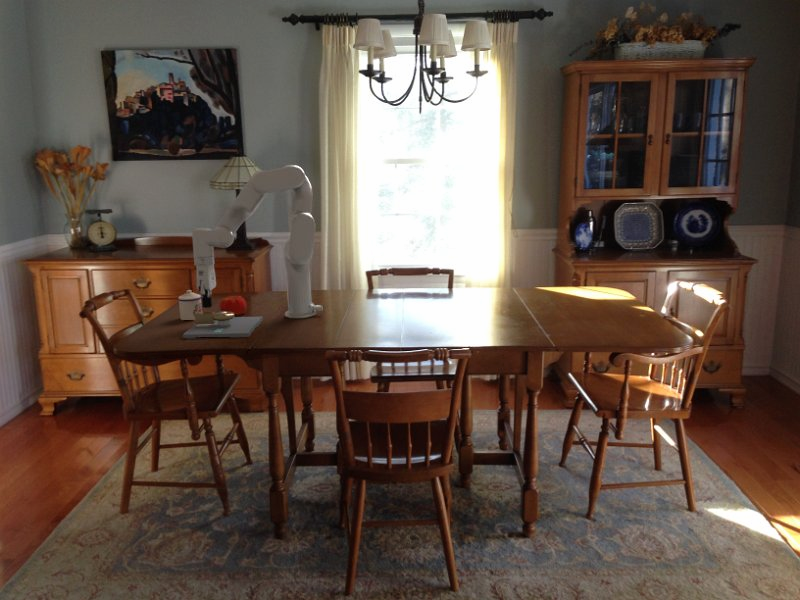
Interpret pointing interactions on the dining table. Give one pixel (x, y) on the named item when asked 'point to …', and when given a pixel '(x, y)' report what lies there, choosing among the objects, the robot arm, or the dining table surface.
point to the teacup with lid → (189, 305)
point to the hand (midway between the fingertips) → (207, 307)
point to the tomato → (233, 305)
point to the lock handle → (212, 317)
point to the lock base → (225, 328)
